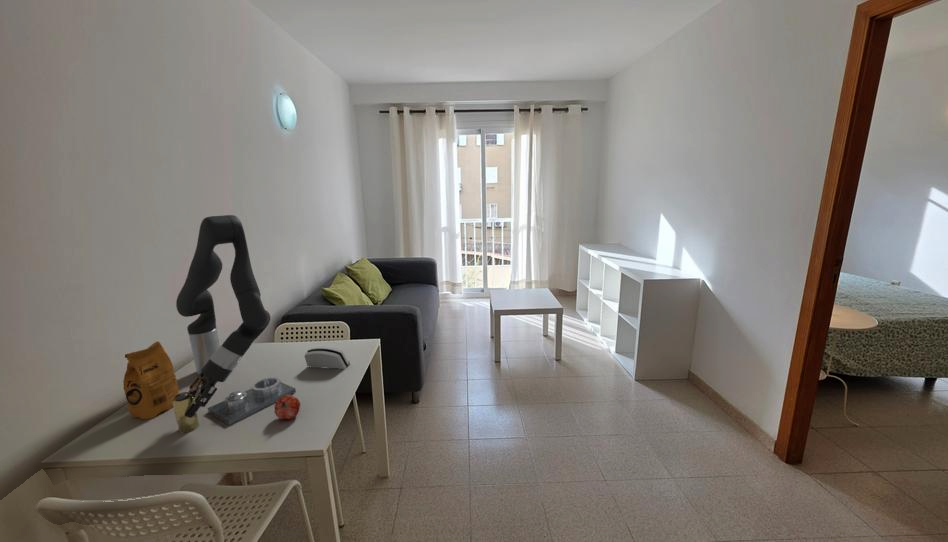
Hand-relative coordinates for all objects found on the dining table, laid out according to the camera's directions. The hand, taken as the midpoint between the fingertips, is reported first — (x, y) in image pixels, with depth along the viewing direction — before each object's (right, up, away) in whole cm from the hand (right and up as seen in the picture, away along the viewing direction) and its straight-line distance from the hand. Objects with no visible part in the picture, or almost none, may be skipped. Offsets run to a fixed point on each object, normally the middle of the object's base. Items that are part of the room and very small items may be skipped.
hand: (185, 410), depth 117 cm
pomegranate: (+29, -4, +5) cm, 30 cm away
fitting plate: (+12, -2, +14) cm, 19 cm away
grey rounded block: (+29, +4, +38) cm, 48 cm away
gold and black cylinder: (0, -6, +1) cm, 6 cm away
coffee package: (-19, -4, +12) cm, 23 cm away
